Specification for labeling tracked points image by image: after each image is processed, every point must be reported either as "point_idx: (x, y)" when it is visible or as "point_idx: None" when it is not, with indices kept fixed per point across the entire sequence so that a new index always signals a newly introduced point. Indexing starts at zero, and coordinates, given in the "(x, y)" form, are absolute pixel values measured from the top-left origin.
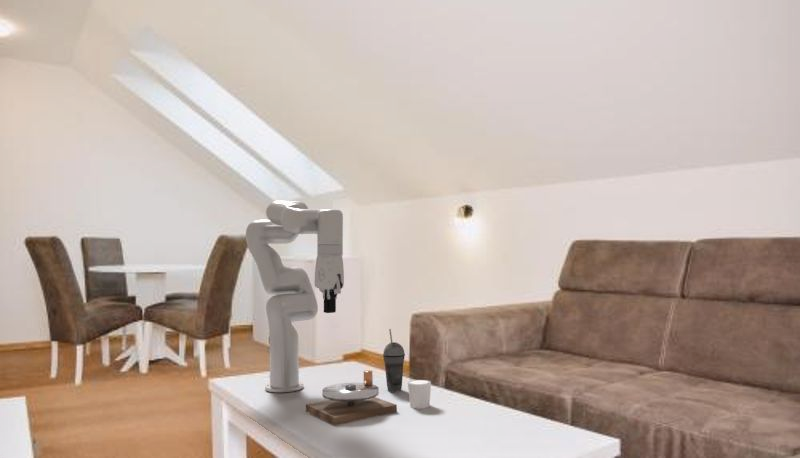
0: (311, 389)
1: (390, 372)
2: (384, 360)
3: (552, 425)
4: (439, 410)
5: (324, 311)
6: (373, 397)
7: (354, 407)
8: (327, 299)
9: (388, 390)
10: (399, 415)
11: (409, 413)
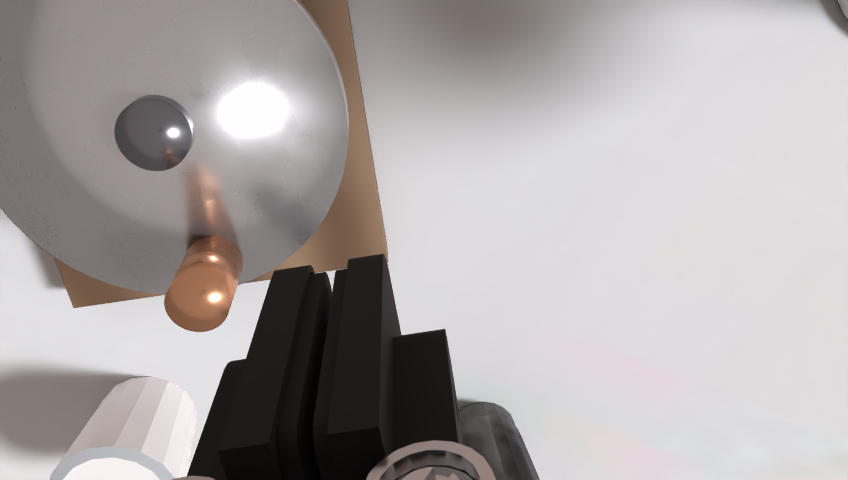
0: (801, 75)
1: None
2: None
3: None
4: (38, 449)
5: (351, 261)
6: (276, 267)
7: None
8: (198, 476)
9: (482, 405)
10: (21, 276)
11: (38, 327)
